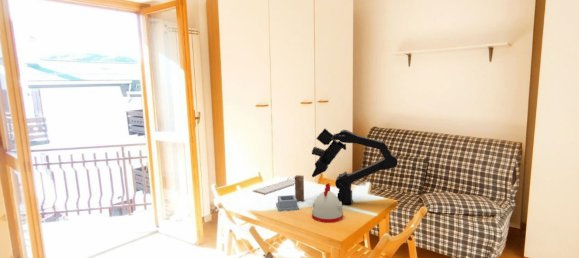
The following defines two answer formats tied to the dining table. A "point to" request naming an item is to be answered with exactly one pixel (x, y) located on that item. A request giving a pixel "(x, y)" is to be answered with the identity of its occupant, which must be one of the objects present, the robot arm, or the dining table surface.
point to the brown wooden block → (299, 188)
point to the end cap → (287, 203)
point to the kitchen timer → (327, 207)
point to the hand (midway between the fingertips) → (314, 174)
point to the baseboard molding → (275, 186)
